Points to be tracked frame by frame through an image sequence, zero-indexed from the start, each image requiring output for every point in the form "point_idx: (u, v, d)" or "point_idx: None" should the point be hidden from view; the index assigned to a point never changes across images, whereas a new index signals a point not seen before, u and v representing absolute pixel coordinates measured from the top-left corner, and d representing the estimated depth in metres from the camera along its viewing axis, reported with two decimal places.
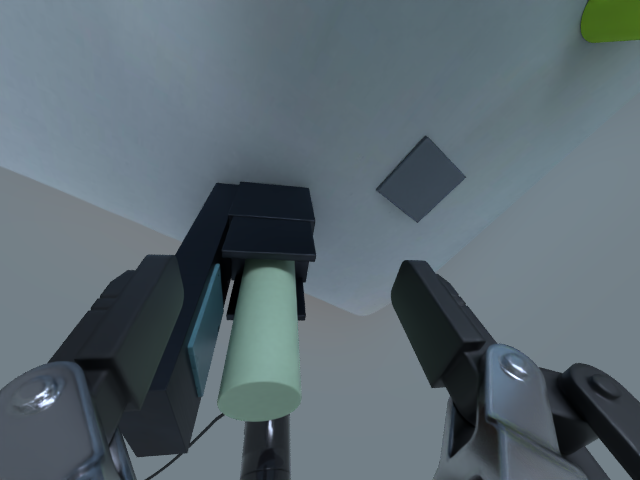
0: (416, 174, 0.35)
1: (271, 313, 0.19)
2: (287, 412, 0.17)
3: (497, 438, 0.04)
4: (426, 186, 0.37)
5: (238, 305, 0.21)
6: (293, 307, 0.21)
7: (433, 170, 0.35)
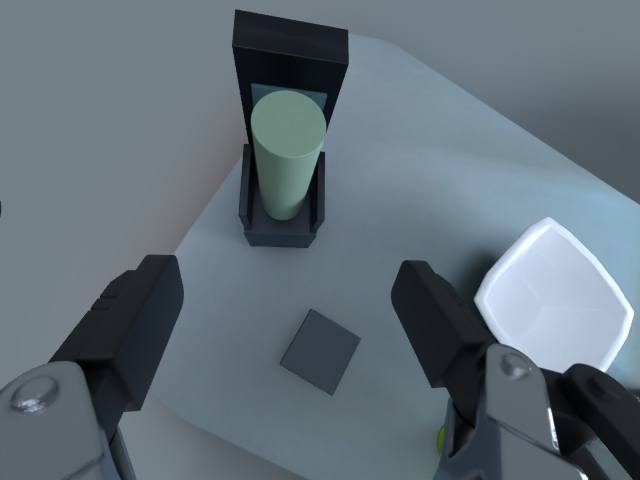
0: (330, 341, 0.39)
1: None
2: (267, 144, 0.17)
3: (497, 437, 0.04)
4: (319, 356, 0.39)
5: None
6: (299, 190, 0.24)
7: (335, 357, 0.39)
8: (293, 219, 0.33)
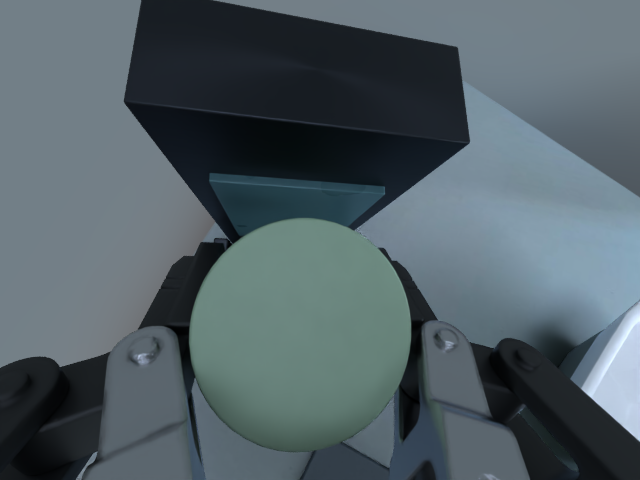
0: None
1: None
2: (239, 417, 0.05)
3: (438, 420, 0.04)
4: None
5: None
6: None
7: None
8: None
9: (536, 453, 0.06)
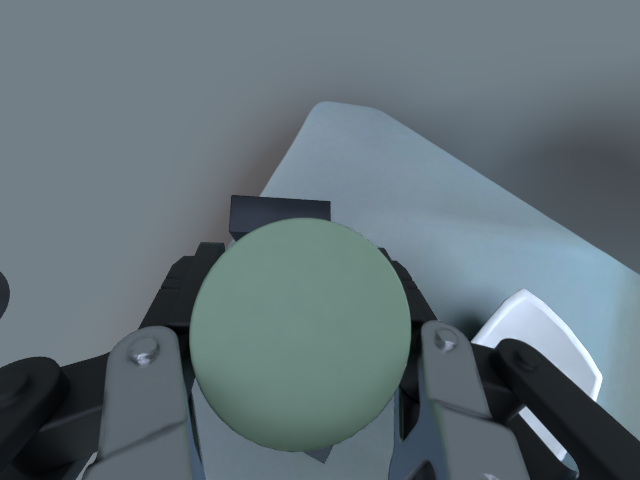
0: None
1: None
2: (239, 417, 0.05)
3: (439, 420, 0.04)
4: None
5: None
6: None
7: None
8: None
9: (536, 453, 0.06)
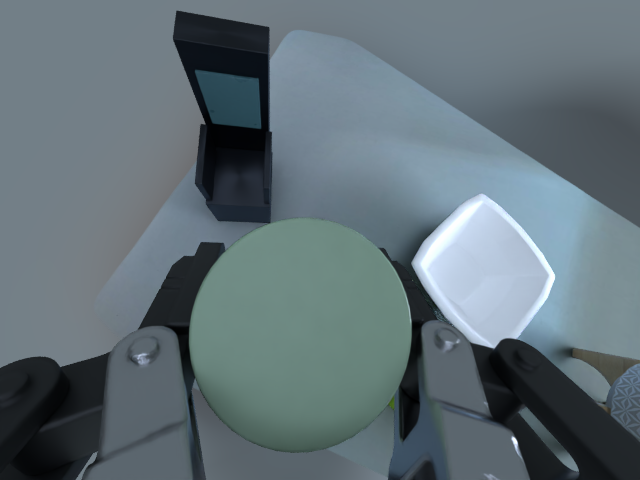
0: None
1: None
2: (239, 418, 0.05)
3: (438, 420, 0.04)
4: None
5: None
6: None
7: None
8: (249, 192, 0.38)
9: (536, 453, 0.06)
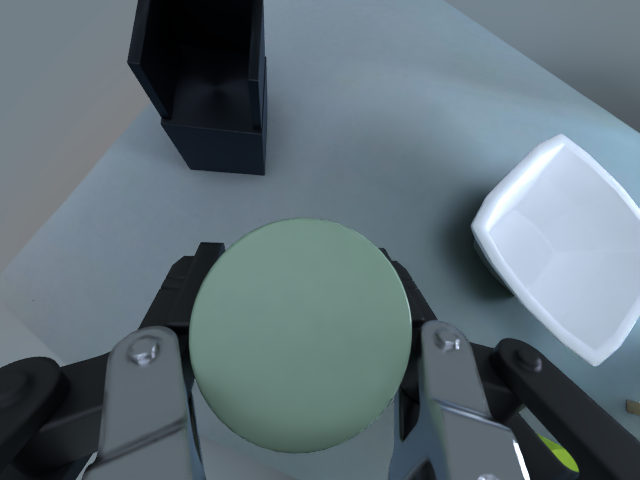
0: None
1: None
2: (239, 418, 0.05)
3: (439, 420, 0.04)
4: None
5: None
6: None
7: None
8: (230, 111, 0.25)
9: (536, 453, 0.06)
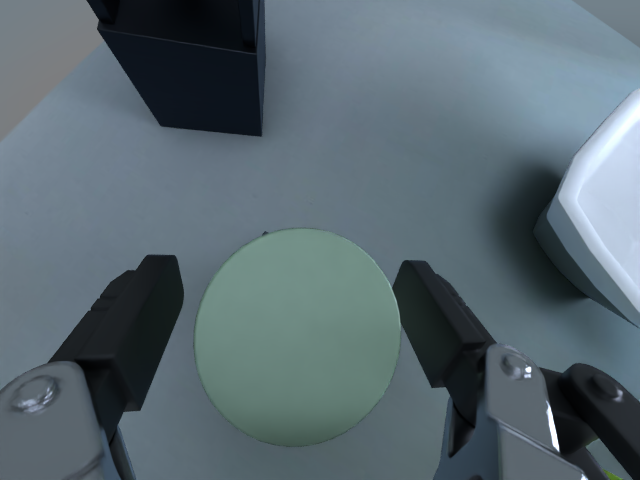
0: None
1: None
2: (240, 414, 0.06)
3: (497, 437, 0.04)
4: None
5: None
6: None
7: None
8: (209, 19, 0.16)
9: None
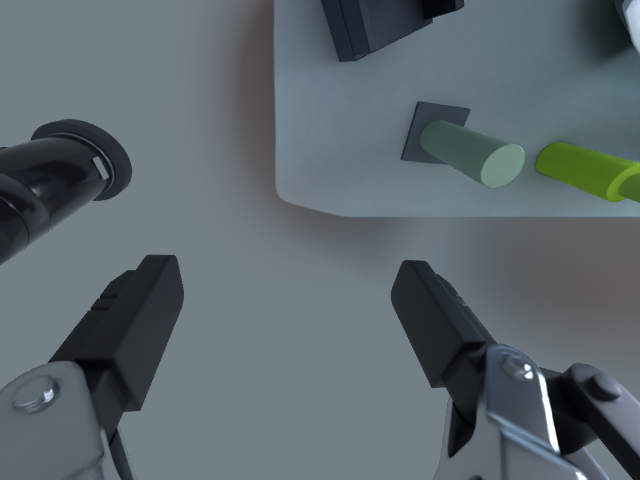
0: None
1: None
2: (490, 185, 0.31)
3: (497, 437, 0.04)
4: None
5: (476, 131, 0.34)
6: None
7: None
8: (402, 12, 0.27)
9: None
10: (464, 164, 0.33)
